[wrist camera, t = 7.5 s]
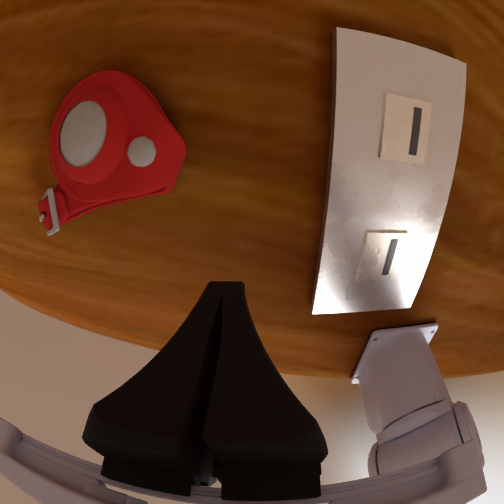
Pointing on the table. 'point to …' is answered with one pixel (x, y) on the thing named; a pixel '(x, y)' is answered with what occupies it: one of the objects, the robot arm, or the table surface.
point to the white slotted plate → (385, 170)
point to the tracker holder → (108, 148)
